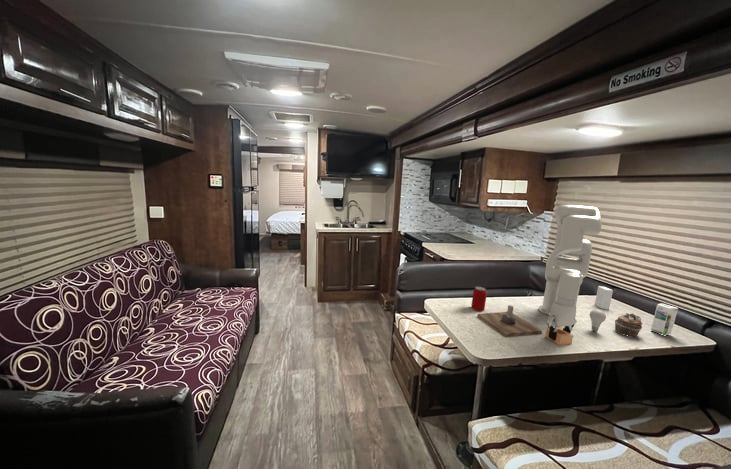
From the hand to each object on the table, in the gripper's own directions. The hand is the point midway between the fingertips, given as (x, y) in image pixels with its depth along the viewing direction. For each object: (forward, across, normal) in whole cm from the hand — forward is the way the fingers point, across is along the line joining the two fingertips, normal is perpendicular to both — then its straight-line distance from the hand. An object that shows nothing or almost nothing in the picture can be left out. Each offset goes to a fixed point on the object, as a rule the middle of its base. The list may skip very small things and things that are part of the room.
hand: (558, 337), depth 127 cm
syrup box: (+1, -61, +3) cm, 61 cm away
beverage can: (+1, +17, -34) cm, 38 cm away
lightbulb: (+1, -27, -4) cm, 27 cm away
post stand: (+1, +13, -16) cm, 21 cm away
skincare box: (+1, -64, -27) cm, 69 cm away
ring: (+1, 0, 0) cm, 1 cm away
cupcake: (+1, -42, 0) cm, 42 cm away
